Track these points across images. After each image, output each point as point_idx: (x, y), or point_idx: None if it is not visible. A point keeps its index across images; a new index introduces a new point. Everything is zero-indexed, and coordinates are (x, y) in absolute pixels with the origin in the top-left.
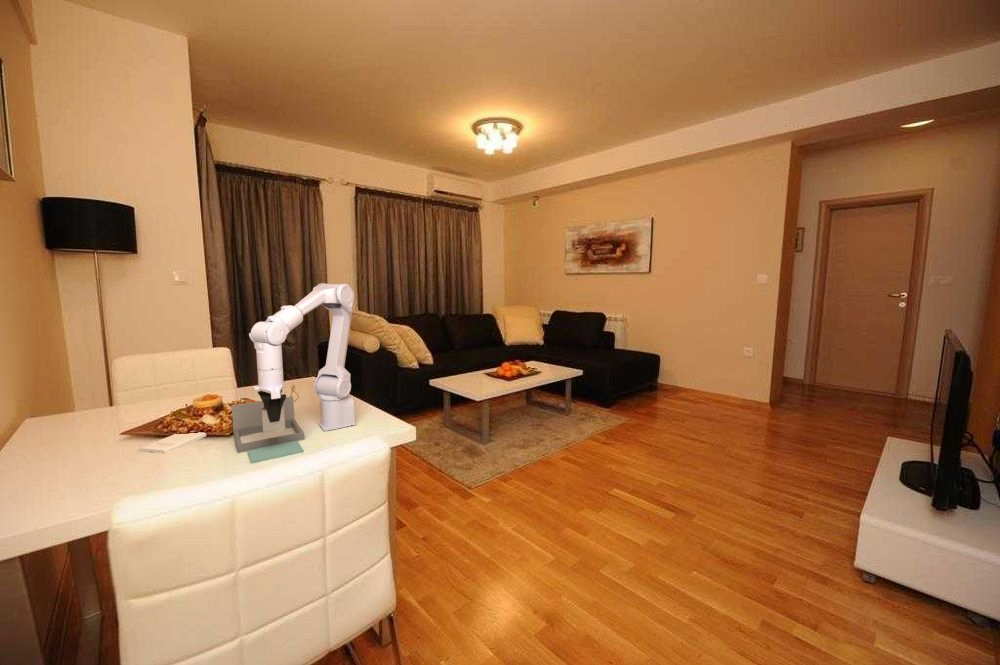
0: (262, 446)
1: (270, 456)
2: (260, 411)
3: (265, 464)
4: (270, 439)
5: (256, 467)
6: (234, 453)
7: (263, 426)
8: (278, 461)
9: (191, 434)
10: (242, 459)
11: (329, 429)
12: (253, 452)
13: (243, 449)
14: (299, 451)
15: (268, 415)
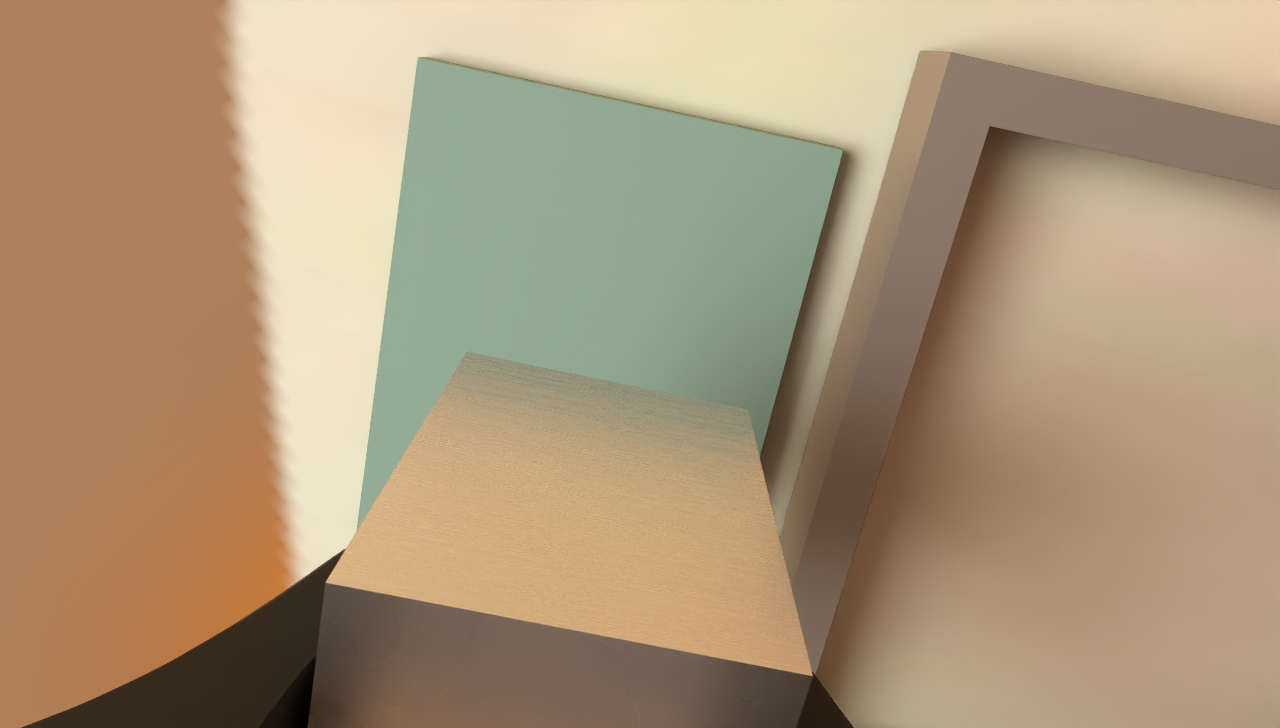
0: (844, 339)
1: (417, 291)
2: (735, 586)
3: (277, 178)
4: (826, 459)
5: (254, 67)
6: (946, 8)
7: (435, 406)
8: (267, 317)
9: None
10: (645, 21)
11: None
12: (709, 185)
13: (911, 120)
14: None
15: (260, 609)
